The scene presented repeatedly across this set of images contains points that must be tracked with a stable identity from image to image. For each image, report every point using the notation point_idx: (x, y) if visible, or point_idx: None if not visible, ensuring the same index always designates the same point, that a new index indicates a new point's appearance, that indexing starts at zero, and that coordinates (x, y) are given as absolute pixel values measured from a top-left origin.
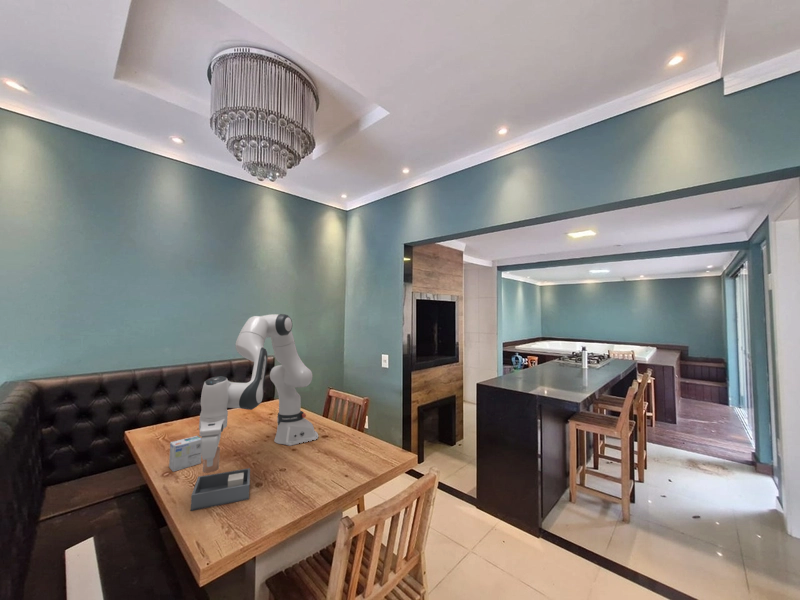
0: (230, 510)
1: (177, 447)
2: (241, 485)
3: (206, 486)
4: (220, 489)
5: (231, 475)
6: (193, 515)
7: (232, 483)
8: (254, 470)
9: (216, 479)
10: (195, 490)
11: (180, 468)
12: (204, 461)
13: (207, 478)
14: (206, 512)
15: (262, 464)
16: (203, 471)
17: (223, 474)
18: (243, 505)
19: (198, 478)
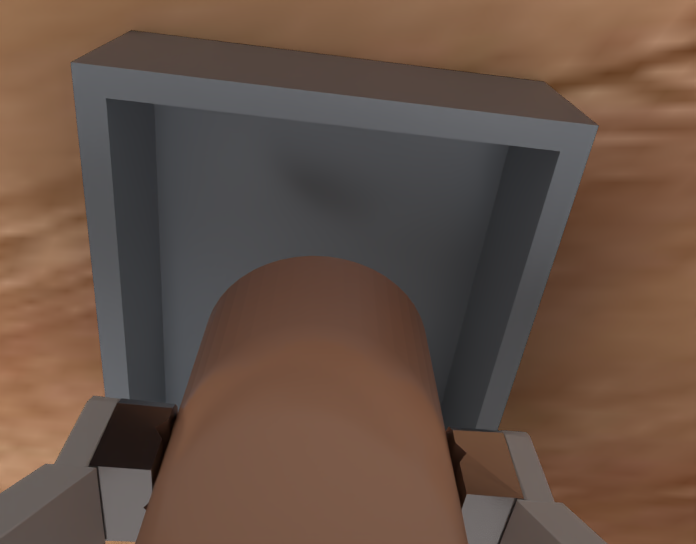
0: (32, 324)
1: None
2: None
3: (506, 175)
4: (114, 338)
5: None
6: (39, 60)
7: None
8: (605, 492)
9: (498, 283)
10: (195, 105)
11: None
12: (220, 393)
13: (528, 215)
14: (58, 166)
15: (669, 539)
16: (260, 272)
17: (490, 363)
18: (77, 398)
19: (538, 130)
